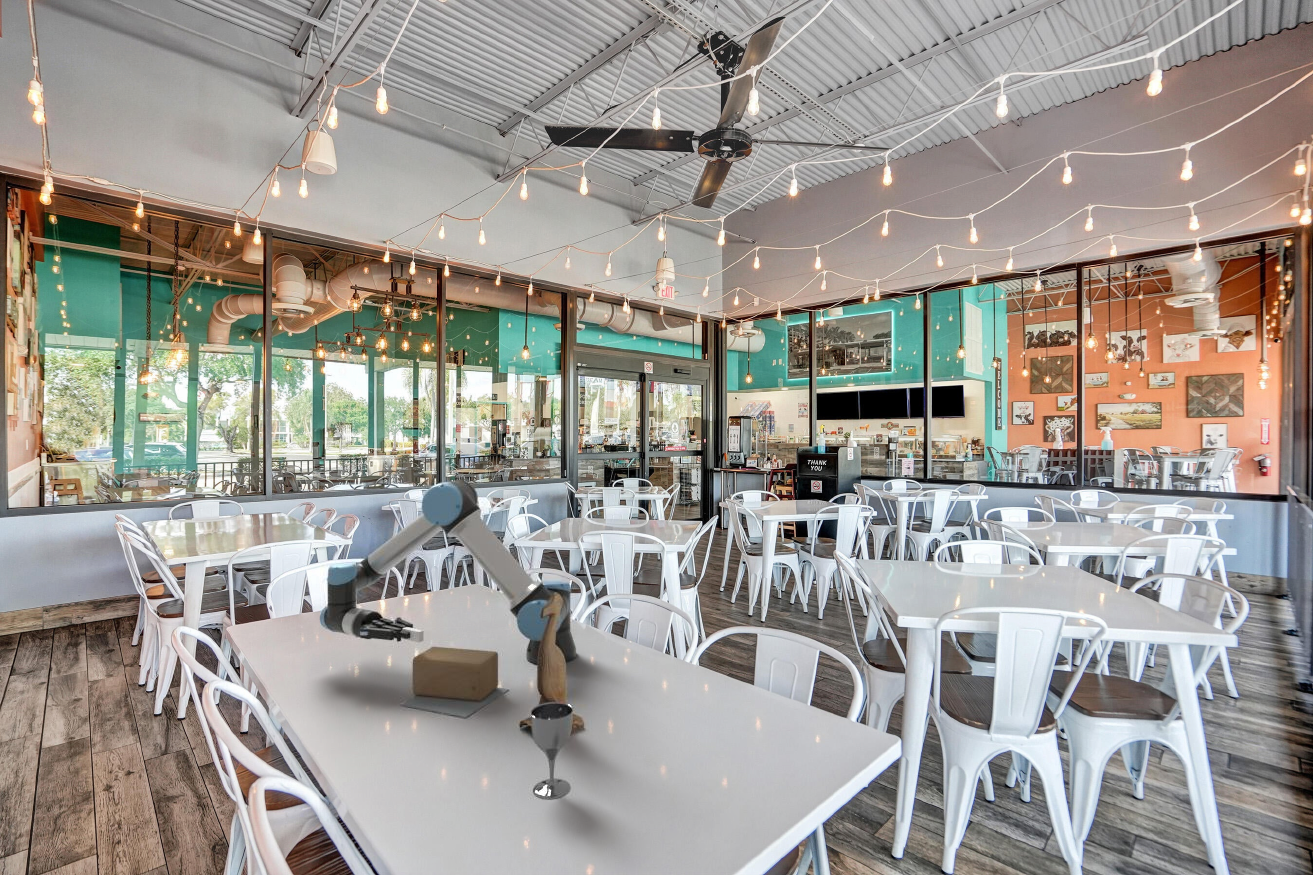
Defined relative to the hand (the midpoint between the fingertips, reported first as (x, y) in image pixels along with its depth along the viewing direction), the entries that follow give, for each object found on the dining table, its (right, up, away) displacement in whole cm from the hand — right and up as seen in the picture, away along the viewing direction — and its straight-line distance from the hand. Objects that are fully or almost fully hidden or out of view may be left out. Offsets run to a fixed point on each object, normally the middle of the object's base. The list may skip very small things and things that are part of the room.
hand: (421, 636), depth 166 cm
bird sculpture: (+38, -15, -20) cm, 46 cm away
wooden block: (-1, -10, +2) cm, 10 cm away
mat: (+10, -15, -3) cm, 18 cm away
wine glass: (+42, -15, -45) cm, 64 cm away
